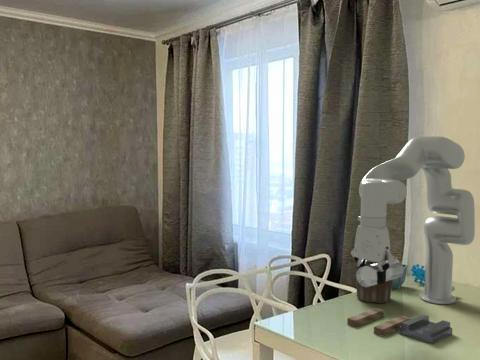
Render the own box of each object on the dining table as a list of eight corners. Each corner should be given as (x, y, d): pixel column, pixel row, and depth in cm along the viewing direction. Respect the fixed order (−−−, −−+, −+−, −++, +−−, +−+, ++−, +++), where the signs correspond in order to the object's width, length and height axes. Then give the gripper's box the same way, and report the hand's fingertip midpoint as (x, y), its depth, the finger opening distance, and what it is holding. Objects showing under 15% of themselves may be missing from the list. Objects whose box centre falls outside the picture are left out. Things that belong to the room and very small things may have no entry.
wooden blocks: (375, 313, 172) (376, 307, 172) (410, 324, 163) (410, 318, 162) (347, 324, 162) (347, 318, 162) (382, 335, 152) (382, 329, 152)
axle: (386, 275, 162) (387, 257, 161) (403, 280, 157) (404, 261, 157) (355, 284, 152) (356, 265, 151) (372, 289, 147) (373, 269, 146)
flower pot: (401, 291, 199) (402, 269, 199) (379, 287, 204) (380, 266, 204) (407, 286, 207) (407, 264, 206) (385, 282, 212) (386, 262, 211)
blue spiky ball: (417, 283, 205) (409, 262, 212) (409, 290, 209) (401, 269, 216) (439, 284, 209) (430, 264, 216) (430, 291, 213) (422, 271, 220)
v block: (419, 324, 162) (419, 313, 162) (452, 334, 154) (452, 323, 154) (398, 333, 155) (399, 322, 154) (432, 344, 146) (432, 332, 146)
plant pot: (366, 290, 201) (367, 250, 200) (403, 299, 189) (405, 257, 188) (343, 298, 190) (344, 256, 188) (381, 308, 178) (383, 263, 177)
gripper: (342, 220, 154) (341, 277, 156) (391, 227, 141) (389, 290, 142) (357, 217, 159) (356, 273, 160) (405, 224, 146) (404, 285, 147)
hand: (371, 280), depth 151 cm, fingers closed on axle, 6 cm apart
